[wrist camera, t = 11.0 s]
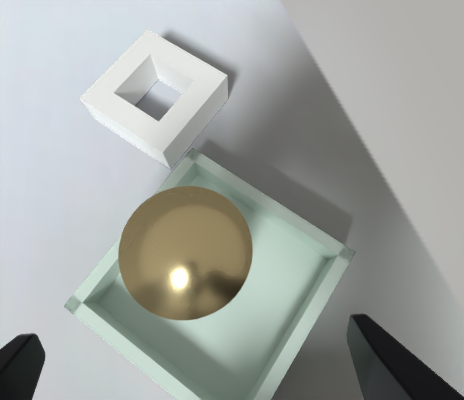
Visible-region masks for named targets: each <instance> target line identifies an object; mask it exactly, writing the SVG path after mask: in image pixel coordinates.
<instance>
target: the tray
mask: <svg viewBox="0 0 464 400" xmlns="http://www.w3.org/2000/svg"><path fill="white" fill-rule="evenodd" d="M180 186H197V187H203V188H207V189H210V190H212V191H215V192H217V193H219V194H221V195H223V196H224V197H226V198H227V199H228V200H230V201H231V202H232V203H233V204H234V205H235V206H236V207H237V208H238V210H239V211H240V212H241V213H242V215H243V217H244V218H245V220H246V222H247V225H248V227H249V230H250V233H251V237H252V244H253V255H252V263H251V267H250V271H249V274H248V276H247V279H246V281H245V283H244V285H243V286H242V288H241V290H240V291H239V293H238V294H237V295H236V297H235V298H234V299H233V300H232V301H231V302H230V303H228V304H227V305H226V306H225V307H223V308H222V309H220V310H218V311H217V312H215V313H213V314H210V315H208V316H206V317H202V318H199V319H194V320H171V319H166V318H163V317H160V316H157V315H155V314H153V313H151V312H149V311H148V310H146V309H145V308H143V307H142V306H141V305H140V304H139V303H137V302H136V301H135V299H134V298H133V297H132V296H131V295H130V293H129V291H128V290H127V288H126V286H125V284H124V282H123V280H122V277H121V273H120V269H119V262H118V251H119V243H120V239H121V236H120V237H119V239H118V240H117V241H116V242H115V244H114V245H113V246H112V247H111V248H110V250H109V251H108V252H107V253H106V255H105V256H104V257H103V258H102V260H101V261H100V262H99V263H98V264H97V266H96V267H95V268H94V269H93V271H92V272H91V273H90V274H89V276H88V277H87V278H86V279H85V280H84V282H83V283H82V284H81V285H80V287H79V288H78V289H77V290H76V292H75V293H74V294H73V295H72V296H71V298H70V299H69V300H68V301H67V303H66V304H65V305H64V307H65V308H66V309H68V310H69V311H70V312H71V313H72V314H74V315H75V316H76V317H77V318H78V319H80V320H81V321H82V322H83V323H85V324H86V325H87V326H88V327H89V328H91V329H92V330H93V331H94V332H95V333H97V334H98V335H99V336H100V337H101V338H103V339H104V340H105V341H106V342H107V343H109V344H110V345H111V346H112V347H113V348H115V349H116V350H117V351H118V352H120V353H121V354H122V355H123V356H124V357H126V358H127V359H128V360H129V361H130V362H132V363H133V364H134V365H135V366H136V367H138V368H139V369H140V370H141V371H142V372H144V373H145V374H146V375H147V376H149V377H150V378H151V379H152V380H153V381H155V382H156V383H157V384H158V385H159V386H161V387H162V388H163V389H164V390H165V391H167V392H168V393H169V394H170V395H171V396H173V397H174V398H175V399H176V400H271V398H272V397H273V395H274V393H275V391H276V390H277V388H278V386H279V384H280V383H281V381H282V379H283V378H284V376H285V374H286V372H287V371H288V369H289V367H290V365H291V364H292V362H293V360H294V358H295V357H296V355H297V353H298V351H299V350H300V348H301V346H302V344H303V343H304V341H305V339H306V337H307V336H308V334H309V332H310V330H311V329H312V327H313V325H314V323H315V322H316V320H317V318H318V317H319V315H320V313H321V311H322V310H323V308H324V306H325V304H326V303H327V301H328V299H329V297H330V296H331V294H332V292H333V290H334V289H335V287H336V285H337V283H338V282H339V280H340V278H341V276H342V275H343V273H344V271H345V269H346V268H347V266H348V264H349V262H350V261H351V259H352V257H353V255H354V254H355V251H353V250H351V249H350V248H348V247H347V246H345V245H344V244H342V243H340V242H339V241H337V240H336V239H334V238H333V237H331V236H330V235H328V234H326V233H325V232H323V231H322V230H320V229H319V228H317V227H315V226H314V225H312V224H311V223H309V222H308V221H306V220H305V219H303V218H301V217H300V216H298V215H297V214H295V213H294V212H292V211H290V210H289V209H287V208H286V207H284V206H283V205H281V204H280V203H278V202H276V201H275V200H273V199H272V198H270V197H269V196H267V195H265V194H264V193H262V192H261V191H259V190H258V189H256V188H255V187H253V186H251V185H250V184H248V183H247V182H245V181H244V180H242V179H240V178H239V177H237V176H236V175H234V174H233V173H231V172H230V171H228V170H226V169H225V168H223V167H222V166H220V165H219V164H217V163H215V162H214V161H212V160H211V159H209V158H208V157H206V156H205V155H203V154H201V153H200V152H198V151H197V150H195V149H194V148H192V149H191V150H190V151H189V152H188V154H187V155H186V156H185V157H184V159H183V160H182V161H181V162H180V164H179V165H178V166H177V167H176V168H175V170H174V171H173V172H172V173H171V175H170V176H169V177H168V178H167V180H166V181H165V182H164V183H163V184H162V186H161V187H160V188H159V189H158V191H157V192H156V193H155V194H154V195H156V194H157V193H159V192H162V191H164V190H167V189H170V188H174V187H180Z"/></svg>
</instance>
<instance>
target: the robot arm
mask: <svg viewBox="0 0 464 400" xmlns="http://www.w3.org/2000/svg"><path fill="white" fill-rule="evenodd" d="M347 342H348V346H349V349H350V353H351V356H352V359H353V363H354V366H355V370H356V373H357V377H358V380H359V384H360V387H361V391H362V394H363V397H364V400H464V397H463V396H462V395H461V394H460V393H458V392H457V391H456V390H455V389H454V388H453V387H451V386H450V385H449V384H448V383H447V382H445V381H444V380H443V379H442V378H441V377H440V376H438V375H437V374H436V373H435V372H434V371H432V370H431V369H430V368H429V367H428V366H427V365H425V364H424V363H423V362H422V361H421V360H419V359H418V358H417V357H416V356H415V355H414V354H412V353H411V352H410V351H409V350H408V349H406V348H405V347H404V346H403V345H402V344H401V343H399V342H398V341H397V340H396V339H395V338H393V337H392V336H391V335H390V334H389V333H388V332H386V331H385V330H384V329H383V328H382V327H380V326H379V325H378V324H377V323H376V322H375V321H373V320H372V319H371V318H370V317H369V316H367V315H366V314H352V315H351V316H350V318H349V324H348V330H347ZM44 361H45V351H44V349H43V347H42V344H41V342H40V340H39V338H38V336H37V335H36V334H34V333H31V334H21V335H18V336H17V337H15V338H14V339H13V340H12V341H10V342H9V343H8V344H6V345H5V346H4V347H3V348H1V349H0V400H32V398H33V395H34V392H35V389H36V386H37V383H38V380H39V377H40V374H41V371H42V368H43V365H44Z"/></svg>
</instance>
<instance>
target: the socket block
mask: <svg viewBox="0 0 464 400" xmlns="http://www.w3.org/2000/svg"><path fill="white" fill-rule="evenodd" d="M158 80H161V81H162V82H164V83H166V84H167V85H169V86H171V87H172V88H174V89H175V90H177V91H179V92H180V93H182V96H181V97H180V98H179V99H178V100H177V101H176V102H175V104H174V105H173V106H172V107H171V108H170V109H169V110H168V112H167V113H166V114H165V115H164V116H163V117H162V118H161V120H160V121H157V120H155V119H154V118H152V117H151V116H149V115H148V114H146V113H144V112H143V111H141V110H140V109H138V108H137V107H135V105H136V104H137V103H138V102H139V101H140V99H141V98H142V97H143V96H144V95H145V94H146V93H147V92H148V91H149V90H150V88H151V87H152V86H153V85H154V84H155V83H156V82H157V81H158ZM80 99H81V101H82V102H83V103H84V105H85V106H86V107H87V109H88V110H89V111H90V113H91V114H92V115H93V117H94V118H95V119H96V120H97V121H98V122H100V123H101V124H103V125H104V126H106V127H107V128H109V129H110V130H112V131H113V132H115V133H116V134H118V135H119V136H121V137H122V138H124V139H125V140H127V141H128V142H130V143H131V144H133V145H134V146H136V147H137V148H139V149H140V150H142V151H143V152H145V153H146V154H148V155H149V156H151V157H152V158H154V159H155V160H157V161H159V162H160V163H162V164H163V165H165V166H166V167H168V168H169V169H171V168H172V167H173V166H174V165H175V164H176V162H177V161H178V160H179V159H180V157H181V156H182V155H183V154H184V153H185V151H186V150H187V149H188V148H189V146H190V145H191V144H192V143H193V142H194V140H195V139H196V138H197V137H198V135H199V134H200V133H201V132H202V131H203V129H204V128H205V127H206V126H207V124H208V123H209V122H210V121H211V119H212V118H213V117H214V116H215V115H216V113H217V112H218V111H219V110H220V108H221V107H222V106H223V105H224V104H225V102H226V101H227V100H228V75H226V74H224V73H223V72H221V71H219V70H217V69H216V68H214V67H212V66H210V65H209V64H207V63H205V62H204V61H202V60H200V59H198V58H197V57H195V56H193V55H191V54H190V53H188V52H186V51H184V50H183V49H181V48H179V47H177V46H176V45H174V44H172V43H170V42H169V41H167V40H165V39H163V38H162V37H160V36H158V35H156V34H155V33H153V32H151V31H150V30H148V29H147V30H146V31H145V32H144V33H143V34H142V35H141V36H140V37H139V38H138V39H137V40H136V41H135V42H134V43H133V44H132V45H131V46H130V47H129V48H128V49H127V50H126V51H125V52H124V53H123V54H122V55H121V56H120V57H119V58H118V59H117V60H116V61H115V62H114V63H113V64H112V65H111V66H110V67H109V68H108V69H107V71H106V72H105V73H104V74H103V75H102V76H101V77H100V78H99V79H98V80H97V81H96V82H95V83H94V84H93V85H92V86H91V87H90V88H89V89H88V90H87V91H86V92H85V93H84V94H83V95H82V96H81V97H80Z"/></svg>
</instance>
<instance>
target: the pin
mask: <svg viewBox="0 0 464 400" xmlns="http://www.w3.org/2000/svg"><path fill="white" fill-rule="evenodd" d="M252 255H253V244H252V237H251V233H250V230H249V227H248V225H247V222H246V220H245V218H244V217H243V215H242V213H241V212H240V211H239V210H238V208H237V207H236V206H235V205H234V204H233V203H232V202H231V201H230V200H228V199H227V198H226V197H224V196H223V195H221V194H219V193H217V192H215V191H212V190H210V189H207V188H203V187H197V186H180V187H174V188H170V189H167V190H164V191H162V192H159V193H157V194H156V195H154V196H152V197H151V198H149V199H148V200H146V201H145V202H144V203H143V204H141V205H140V206H139V207H138V208H137V210H136V211H135V212H134V213H133V214H132V216H131V217H130V219H129V220H128V222H127V224H126V226H125V228H124V230H123V233H122V235H121V239H120V243H119V251H118V262H119V269H120V273H121V277H122V280H123V282H124V284H125V286H126V288H127V290H128V291H129V293H130V295H131V296H132V297H133V298H134V299H135V301H136V302H137V303H139V304H140V305H141V306H142V307H143V308H145V309H146V310H148V311H149V312H151V313H153V314H155V315H157V316H160V317H163V318H166V319H171V320H194V319H199V318H202V317H206V316H208V315H210V314H213V313H215V312H217V311H218V310H220V309H222V308H223V307H225V306H226V305H227V304H228V303H230V302H231V301H232V300H233V299H234V298H235V297H236V295H237V294H238V293H239V291H240V290H241V288H242V286H243V285H244V283H245V281H246V279H247V276H248V274H249V271H250V267H251V263H252Z"/></svg>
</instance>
